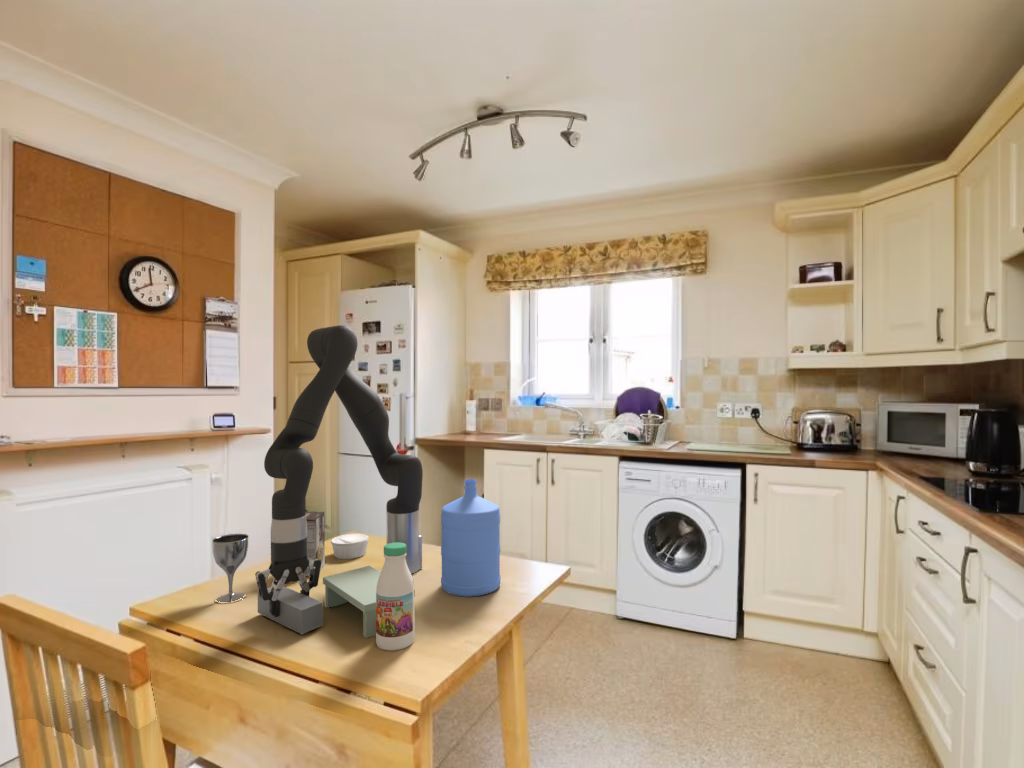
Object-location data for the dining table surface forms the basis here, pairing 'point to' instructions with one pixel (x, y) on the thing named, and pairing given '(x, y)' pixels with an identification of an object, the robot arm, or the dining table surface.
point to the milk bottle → (395, 600)
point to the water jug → (470, 545)
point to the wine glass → (230, 559)
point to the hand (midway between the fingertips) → (289, 611)
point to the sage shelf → (355, 593)
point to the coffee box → (315, 538)
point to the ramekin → (350, 546)
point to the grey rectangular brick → (294, 610)
